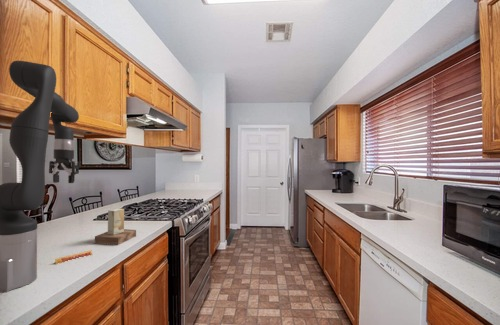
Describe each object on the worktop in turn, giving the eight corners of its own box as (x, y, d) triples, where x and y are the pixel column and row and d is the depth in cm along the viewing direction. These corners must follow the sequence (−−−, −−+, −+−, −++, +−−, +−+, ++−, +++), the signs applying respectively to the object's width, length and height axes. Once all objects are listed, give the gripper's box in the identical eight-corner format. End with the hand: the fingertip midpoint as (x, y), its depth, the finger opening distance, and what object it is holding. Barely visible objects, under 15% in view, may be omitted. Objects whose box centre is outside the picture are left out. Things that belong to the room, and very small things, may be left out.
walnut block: (118, 246, 107) (118, 238, 107) (94, 244, 109) (94, 236, 109) (136, 237, 119) (136, 230, 119) (114, 235, 121) (114, 228, 121)
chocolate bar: (54, 263, 88) (54, 258, 88) (90, 254, 97) (90, 249, 97) (55, 265, 86) (55, 260, 86) (92, 256, 95) (92, 250, 95)
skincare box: (113, 235, 110) (113, 211, 110) (107, 234, 111) (107, 210, 111) (124, 231, 116) (124, 208, 116) (118, 230, 118) (118, 208, 118)
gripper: (43, 148, 103) (42, 183, 103) (68, 148, 100) (68, 184, 100) (59, 149, 110) (59, 181, 110) (83, 149, 108) (83, 182, 108)
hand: (63, 182), depth 105 cm, fingers open, 8 cm apart
